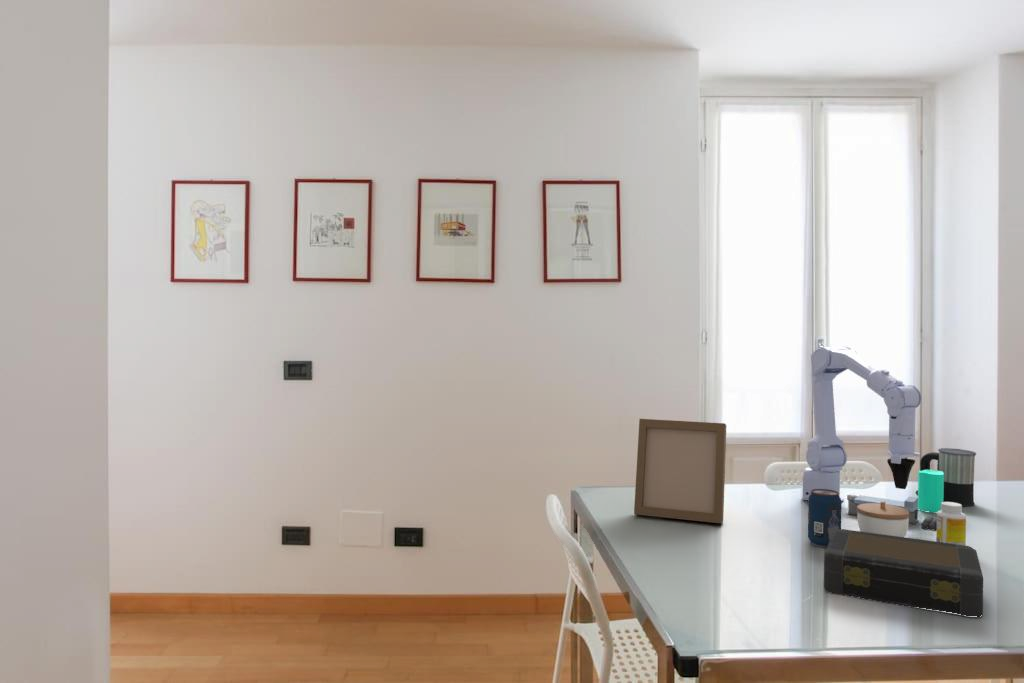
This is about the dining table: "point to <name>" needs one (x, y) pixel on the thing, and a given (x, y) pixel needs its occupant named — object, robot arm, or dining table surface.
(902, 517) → the lidded jar
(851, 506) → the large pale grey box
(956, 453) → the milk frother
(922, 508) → the candle
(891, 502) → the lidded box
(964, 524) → the supplement bottle
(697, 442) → the photo frame
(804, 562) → the dining table surface
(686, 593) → the dining table surface
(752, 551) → the dining table surface
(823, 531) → the soda can
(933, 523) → the grey ridged block
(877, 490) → the dining table surface
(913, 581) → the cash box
